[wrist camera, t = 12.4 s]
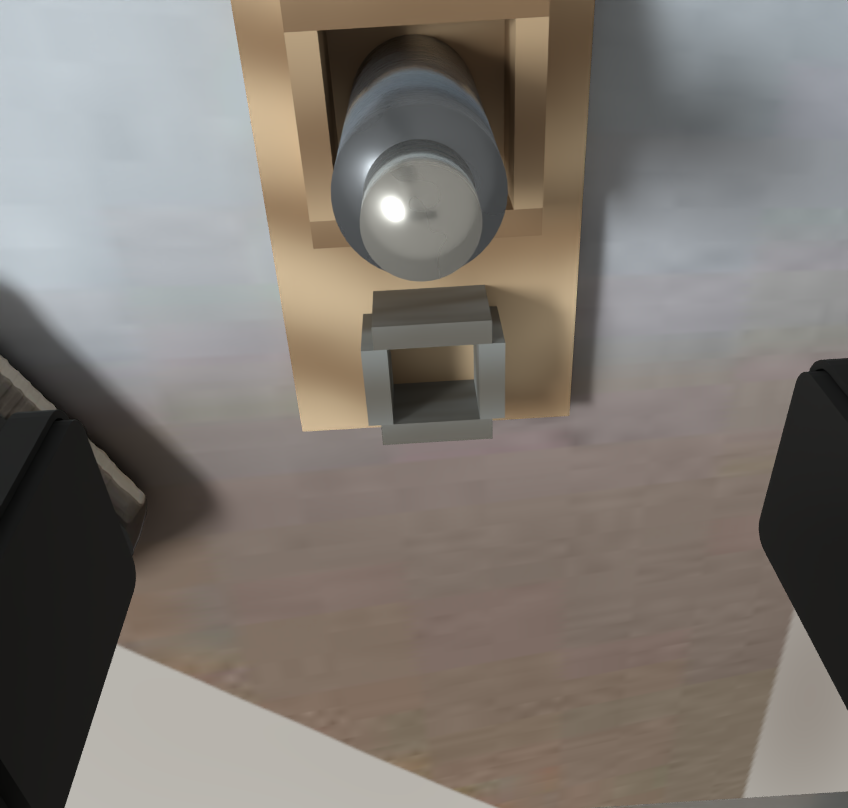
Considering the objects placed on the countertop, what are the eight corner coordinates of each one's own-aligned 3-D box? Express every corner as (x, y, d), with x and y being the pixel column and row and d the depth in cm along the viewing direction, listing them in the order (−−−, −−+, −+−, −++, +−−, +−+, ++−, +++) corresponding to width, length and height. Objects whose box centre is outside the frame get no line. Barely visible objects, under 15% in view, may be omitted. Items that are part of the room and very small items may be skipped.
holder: (228, -54, 27) (204, -39, 23) (592, -76, 27) (621, -64, 23) (305, 416, 38) (296, 473, 34) (564, 400, 38) (582, 456, 34)
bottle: (345, 37, 27) (314, 130, 17) (476, 31, 27) (520, 121, 17) (356, 167, 30) (333, 315, 20) (476, 161, 30) (515, 308, 20)
